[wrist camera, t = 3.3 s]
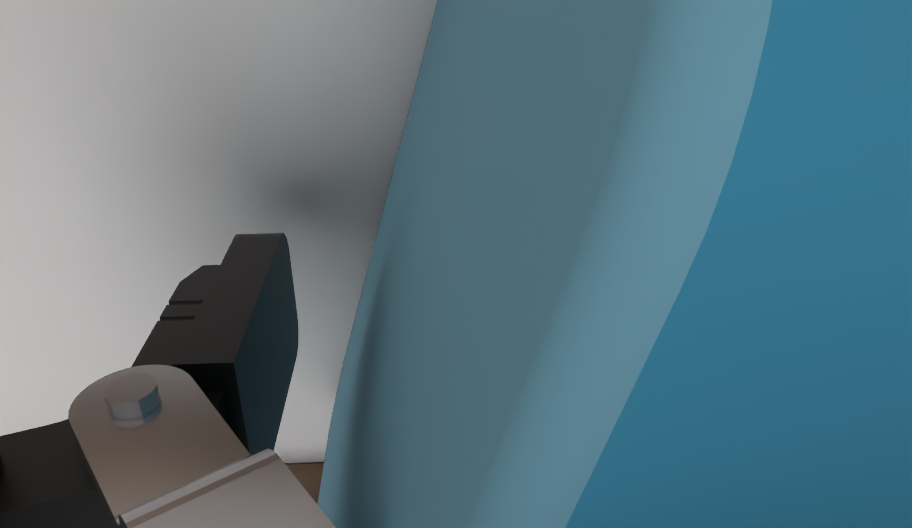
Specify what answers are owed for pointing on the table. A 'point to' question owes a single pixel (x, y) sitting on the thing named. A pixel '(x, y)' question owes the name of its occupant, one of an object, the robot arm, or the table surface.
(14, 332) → the table surface
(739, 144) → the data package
